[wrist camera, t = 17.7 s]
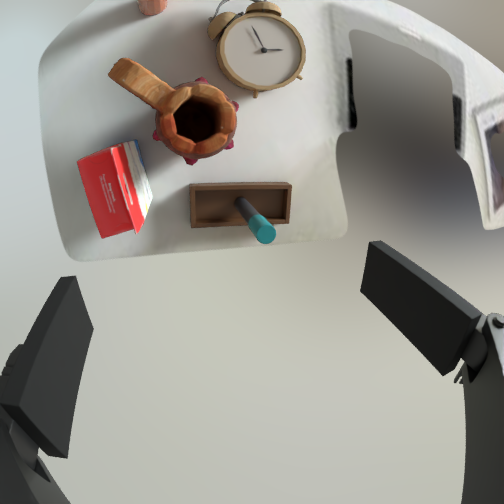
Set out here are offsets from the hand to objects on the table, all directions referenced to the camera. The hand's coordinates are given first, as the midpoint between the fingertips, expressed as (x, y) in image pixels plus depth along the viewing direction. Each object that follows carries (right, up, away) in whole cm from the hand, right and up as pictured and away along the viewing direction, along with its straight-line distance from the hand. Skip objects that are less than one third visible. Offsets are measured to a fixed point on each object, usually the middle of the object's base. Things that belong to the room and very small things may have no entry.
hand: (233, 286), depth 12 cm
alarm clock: (+1, +29, +19) cm, 35 cm away
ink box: (-15, +12, +23) cm, 30 cm away
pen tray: (-1, +8, +28) cm, 29 cm away
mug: (-9, +19, +21) cm, 30 cm away
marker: (-1, +8, +28) cm, 29 cm away
